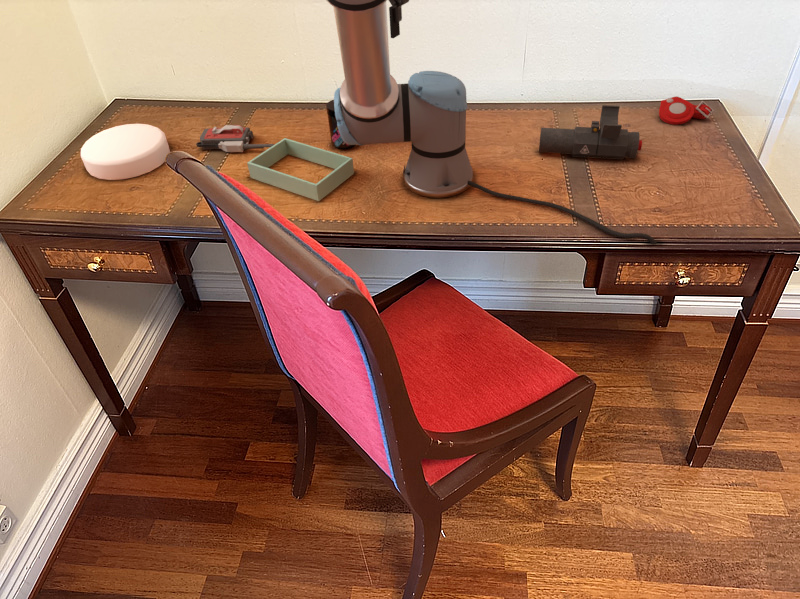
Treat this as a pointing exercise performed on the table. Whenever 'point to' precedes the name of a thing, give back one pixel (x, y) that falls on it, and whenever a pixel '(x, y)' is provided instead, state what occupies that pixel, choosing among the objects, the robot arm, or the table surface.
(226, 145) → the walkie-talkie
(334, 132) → the supplement container
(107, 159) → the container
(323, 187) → the rectangular frame
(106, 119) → the table surface
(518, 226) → the table surface
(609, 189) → the table surface
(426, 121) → the robot arm
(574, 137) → the laser sight
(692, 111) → the tracker holder
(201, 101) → the table surface
